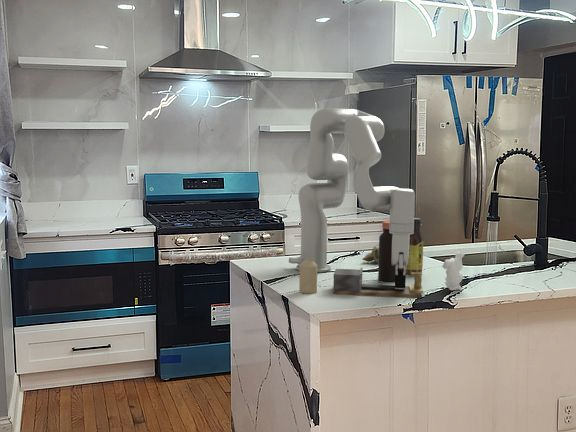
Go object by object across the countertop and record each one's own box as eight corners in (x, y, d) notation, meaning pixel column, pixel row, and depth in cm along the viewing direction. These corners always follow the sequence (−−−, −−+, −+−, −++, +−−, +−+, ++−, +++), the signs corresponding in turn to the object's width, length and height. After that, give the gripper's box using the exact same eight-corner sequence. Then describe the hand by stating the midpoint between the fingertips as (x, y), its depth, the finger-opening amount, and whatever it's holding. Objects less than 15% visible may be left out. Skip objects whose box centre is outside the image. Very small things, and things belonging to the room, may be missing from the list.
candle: (298, 289, 214) (298, 258, 213) (315, 289, 214) (316, 258, 213) (300, 294, 208) (300, 262, 207) (317, 293, 209) (318, 262, 208)
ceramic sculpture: (402, 239, 263) (386, 246, 251) (402, 260, 265) (386, 269, 252) (377, 236, 269) (360, 244, 257) (377, 258, 270) (360, 266, 258)
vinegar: (385, 283, 225) (387, 223, 222) (374, 279, 231) (375, 221, 228) (402, 281, 228) (404, 222, 226) (390, 277, 234) (392, 220, 232)
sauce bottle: (422, 275, 237) (424, 219, 235) (404, 274, 238) (406, 219, 236) (422, 272, 244) (424, 217, 241) (404, 271, 245) (406, 217, 242)
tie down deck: (333, 294, 209) (333, 273, 208) (335, 286, 220) (336, 266, 219) (423, 297, 205) (424, 276, 204) (421, 289, 216) (422, 269, 215)
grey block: (361, 288, 211) (361, 265, 210) (361, 285, 215) (362, 263, 214) (404, 290, 209) (405, 267, 208) (404, 287, 213) (405, 264, 212)
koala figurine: (457, 286, 222) (458, 250, 220) (471, 290, 216) (473, 253, 214) (436, 288, 218) (438, 251, 216) (450, 292, 212) (452, 255, 210)
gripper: (389, 224, 218) (387, 279, 220) (389, 232, 201) (387, 291, 203) (412, 225, 217) (410, 280, 219) (415, 232, 200) (413, 292, 202)
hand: (399, 285), depth 211 cm, fingers open, 4 cm apart
